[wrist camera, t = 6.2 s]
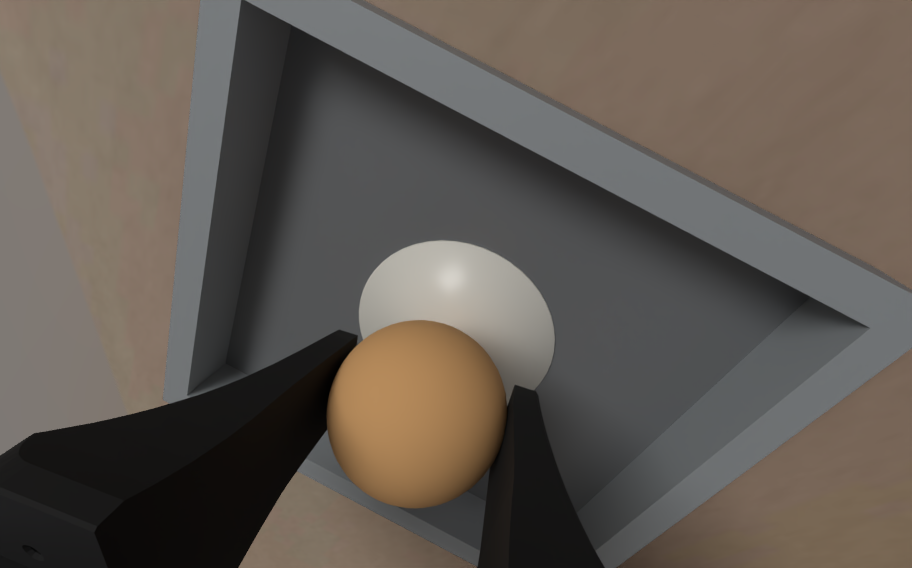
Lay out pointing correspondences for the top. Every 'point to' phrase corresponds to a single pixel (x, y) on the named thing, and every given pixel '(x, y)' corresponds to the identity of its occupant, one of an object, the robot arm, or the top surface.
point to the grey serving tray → (502, 263)
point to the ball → (416, 414)
